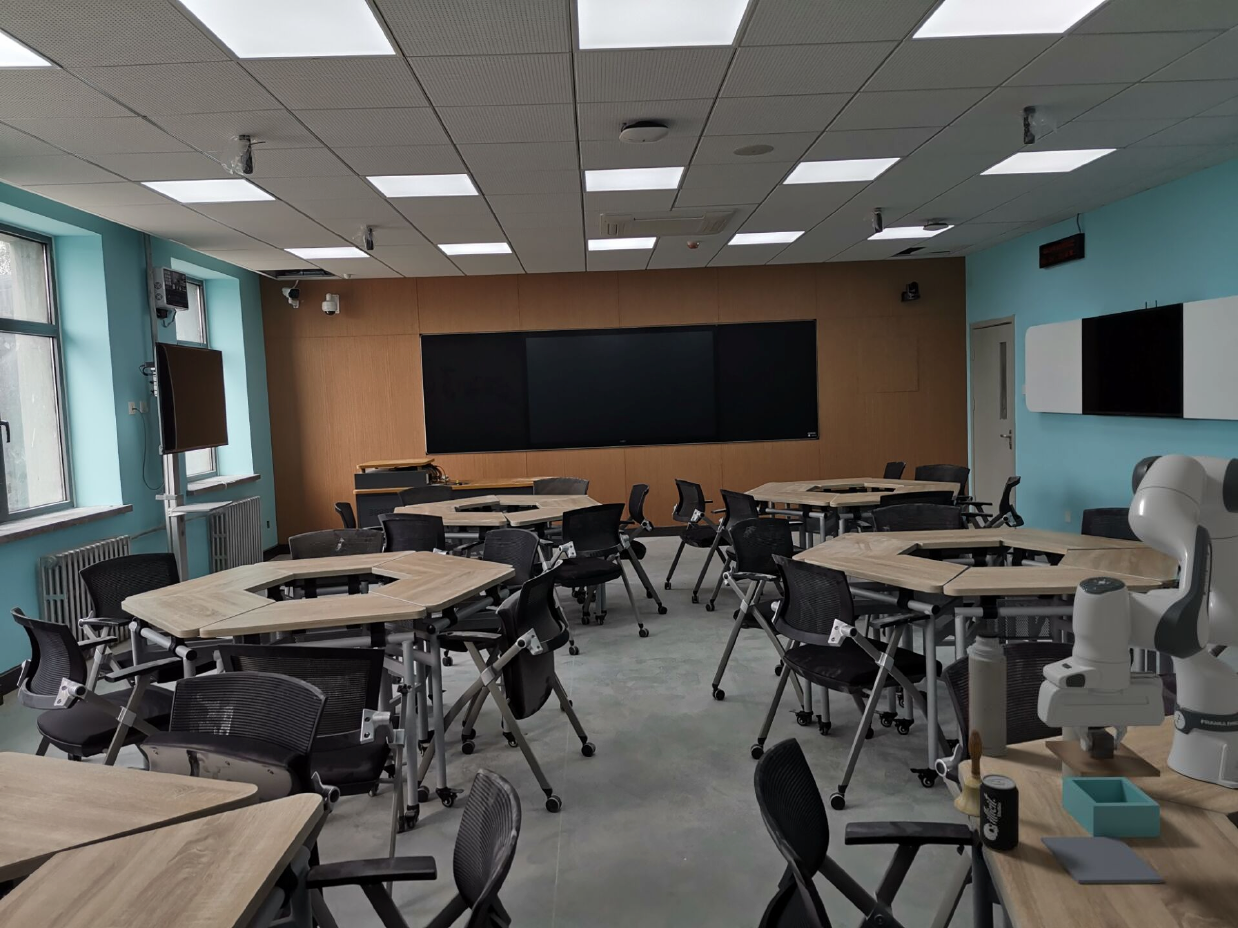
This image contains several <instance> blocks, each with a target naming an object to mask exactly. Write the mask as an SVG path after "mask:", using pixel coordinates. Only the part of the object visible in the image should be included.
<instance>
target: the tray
mask: <svg viewBox="0 0 1238 928" xmlns="http://www.w3.org/2000/svg"><path fill="white" fill-rule="evenodd" d="M1040 841H1041V842H1042V844H1043V845H1044V846H1045V847H1046V848H1047V849H1048V851H1049V852H1050V853H1051V854H1052V855H1053V857H1054V858H1055V859H1056V860H1057V861H1058V862H1059V863H1060V864H1061V865H1062V866H1063V867H1064V869H1065V870H1066V871H1067V872H1068V873H1069V875H1070V876H1071V877H1072V878H1073V879H1074V880H1075V882H1077V883H1078V884H1136V883H1135V882H1138V883H1137V884H1160V883H1161V884H1162V883H1164V878H1163V877H1162V876H1161V875H1159V873H1157V872H1156V870H1154V869H1153V868H1152V866H1150V865H1149V864H1148V863H1147V862H1146V860H1143V859H1142V858H1141V857H1140V855H1138V854H1137V853H1136V852H1135V851H1134V850H1133V849H1132V848H1131V847H1130V846H1129V845H1128V844H1126V842H1124V841H1123V839H1121V837H1092V836H1062V837H1060V836H1052V837H1051V836H1049V837H1048V836H1043V837H1040ZM1141 882H1142V883H1141Z"/></svg>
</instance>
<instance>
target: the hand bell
mask: <svg viewBox="0 0 1238 928" xmlns="http://www.w3.org/2000/svg"><path fill="white" fill-rule="evenodd" d="M967 746H968V753H969V756H970V759H971V766H970V767H971V770H970V771H971V776H970V777H967V778H965V779H964V781H963V786H962V791H961V794H960V795H959V796H958V797H956V799H955V800H954V802H953V807H954V808H955V809H956V810H957V811H959V812H960V813H962V814H964V815H965V816H969V817H974V818H980V784H981V782H982V777H981V759H982V756H983V755H982V741H981V738H980V735H979V731H977V730H972V732H971V735H970V738H969V737H968V744H967Z"/></svg>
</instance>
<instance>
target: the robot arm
mask: <svg viewBox="0 0 1238 928" xmlns="http://www.w3.org/2000/svg"><path fill="white" fill-rule="evenodd" d="M1131 490H1132V493H1133V495H1134V496H1133V498H1132V500H1131V503H1130V507H1129V511H1128V518H1127V519H1128V525H1129V526H1130V529H1131V530H1132V532H1133V533H1134V535H1135V536H1136V538H1138V539H1139V540H1140V541H1141V542H1143V543H1144V544H1146V545H1147V546H1148V547H1149V548H1151V549H1152V550H1153V549H1154V550H1156V551H1158V552H1161V553H1163V554H1166V555H1168V556H1170V557H1172V558H1174V559H1175V560H1177V562H1178V564H1179V566H1180V576H1179V584H1178V588H1160V589H1150V590H1149V591H1148V592H1146V593H1141V592H1136V591H1130V590H1129V589H1128V586H1127V584H1126V582H1124V581H1122V580H1121V579H1119V578H1115V577H1110V576H1096V577H1095V576H1094V577H1088V578H1086V579H1084V580H1081V581H1080V582H1079V583H1078V584H1077V587H1076V590H1075V596H1074V601H1073V611H1072V632H1073V634H1074V645H1073V647H1072V652H1071V653H1072V656H1069V657H1066V658H1065V659H1062V660H1059V661H1056V662H1051V663H1049V664H1046V665H1045V666H1044V667H1043V669H1042V674H1043V676H1044V677H1045V678H1046V679H1045V680H1044V681H1043V682H1042V683H1041V685H1040V688H1039V692H1038V698H1037V699H1038V700H1037V716H1038V717H1039V720H1041V721H1042V722H1043V723H1044V724H1045V725H1046V726H1048V727H1049V728H1062V727H1074V729H1075V730H1076V732H1077V734H1078V735H1079V737H1080V738H1081V748H1082V749H1083V750H1084V751H1092V750H1094V747H1093V746H1094V741H1093V740H1091V739H1090V738H1087V736H1086V734H1085V733H1084V732H1088V727H1106V728H1107V727H1112V728H1114V731H1113V733H1111V735H1113V736H1114V750H1120V742H1122V740H1123V739H1124V737H1125V736H1126V734H1127V733H1128V727H1158V726H1161V725H1162V724H1163V722H1165V705H1164V704H1165V703H1164V700H1163V698H1164V697H1163V695H1162V694H1163V685H1164V682H1163V679H1162V677H1161V676H1160V675H1159V674H1157V673H1155V672H1154V671H1151V670H1145V671H1139V670H1138V671H1134V670H1131V669H1132V668H1131V660H1132V659H1131V658H1132V657H1131V653H1130V649H1129V647H1131V648H1137V649H1141V650H1142V649H1143V650H1147V651H1153V652H1157V653H1160V654H1163V655H1167V656H1170V657H1171V659H1172V662H1173V665H1174V670H1175V678H1176V699H1175V701H1174V708H1173V723H1174V734H1173V740H1172V744H1171V748H1170V749H1171V750H1170V752H1169V755H1168V758H1167V759H1166V763H1167V766H1168V767H1170V769H1172V770H1174V771H1175V772H1177V773H1179V774H1181V775H1184V776H1186V777H1189V778H1192V779H1196V780H1199V781H1204V782H1208V783H1214V784H1217V785H1220V786H1222V787H1223V786H1224V787H1226V788H1230V789H1234V788H1238V673H1237V671H1236V670H1235V669H1234V668H1233V667H1232V666H1231V665H1230V664H1228V663H1227V662H1225V661H1223V660H1222V659H1220V658H1218V657H1216V656H1215V655H1213V654H1212V652H1210V651H1209V650H1208V648H1207V644H1210V645H1211V644H1212V645H1218V646H1224V647H1225V646H1226V647H1232V648H1233V647H1234V648H1238V458H1236V457H1234V458H1232V459H1231V458H1226V457H1218V456H1217V457H1216V456H1210V455H1209V456H1207V455H1185V454H1179V453H1171V454H1166V455H1163V456H1162V455H1154V456H1153V455H1151V456H1146V457H1144V458H1142V459H1141V460H1140V461H1138V462H1137V463H1136V464H1135V466H1134V468H1133V471H1132V476H1131Z"/></svg>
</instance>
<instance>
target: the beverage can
mask: <svg viewBox="0 0 1238 928" xmlns="http://www.w3.org/2000/svg"><path fill="white" fill-rule="evenodd" d="M981 779H982V782H981V784H980V817H979V839H980V841H981V842H982V843H983V844H984V845H985V846H986V847H987V848H989V849H991V850H994V851H999V852H1011V851H1013V850H1014V849H1016V848H1017V847H1019V843H1020V842H1019V839H1020V834H1019V831H1020V829H1019V828H1020V826H1019V825H1020V824H1019V823H1020V822H1019V821H1020V820H1019V819H1020V816H1019V813H1020V811H1019V810H1020V808H1019V807H1020V806H1019V805H1020V803H1019V801H1020V800H1019V798H1020V796H1019V795H1020V792H1019V789H1018V787H1017V781H1016V780H1015V779H1013V778H1012V777H1009V776H1006V775H1003V774H995V773H991V774H990V773H989V774H986V775H983V776H982V777H981Z"/></svg>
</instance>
